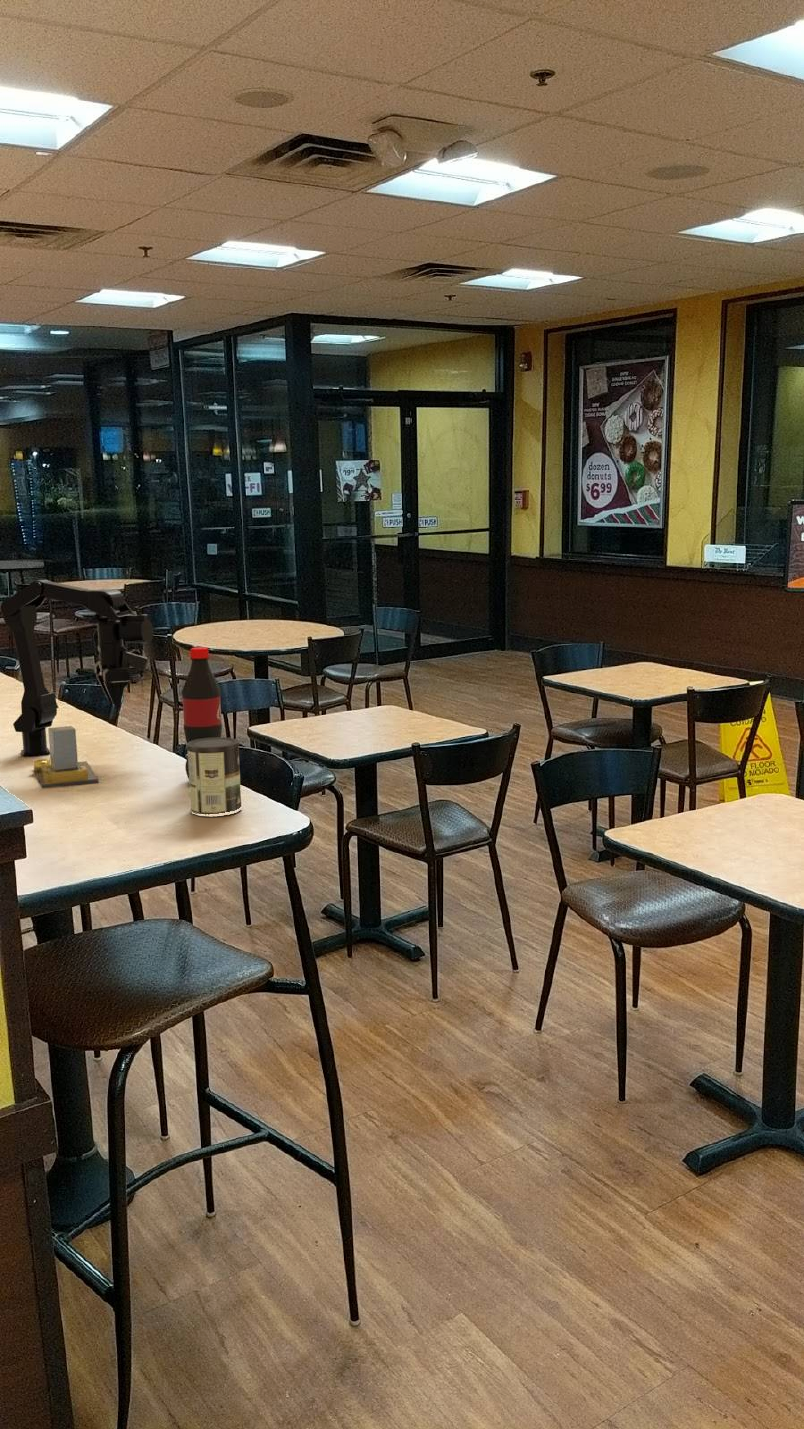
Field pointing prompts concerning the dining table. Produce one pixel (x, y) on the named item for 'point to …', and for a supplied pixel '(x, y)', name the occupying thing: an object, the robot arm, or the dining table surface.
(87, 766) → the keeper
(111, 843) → the dining table surface
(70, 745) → the link block
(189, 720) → the cola bottle
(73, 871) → the dining table surface
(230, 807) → the coffee can
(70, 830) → the dining table surface
